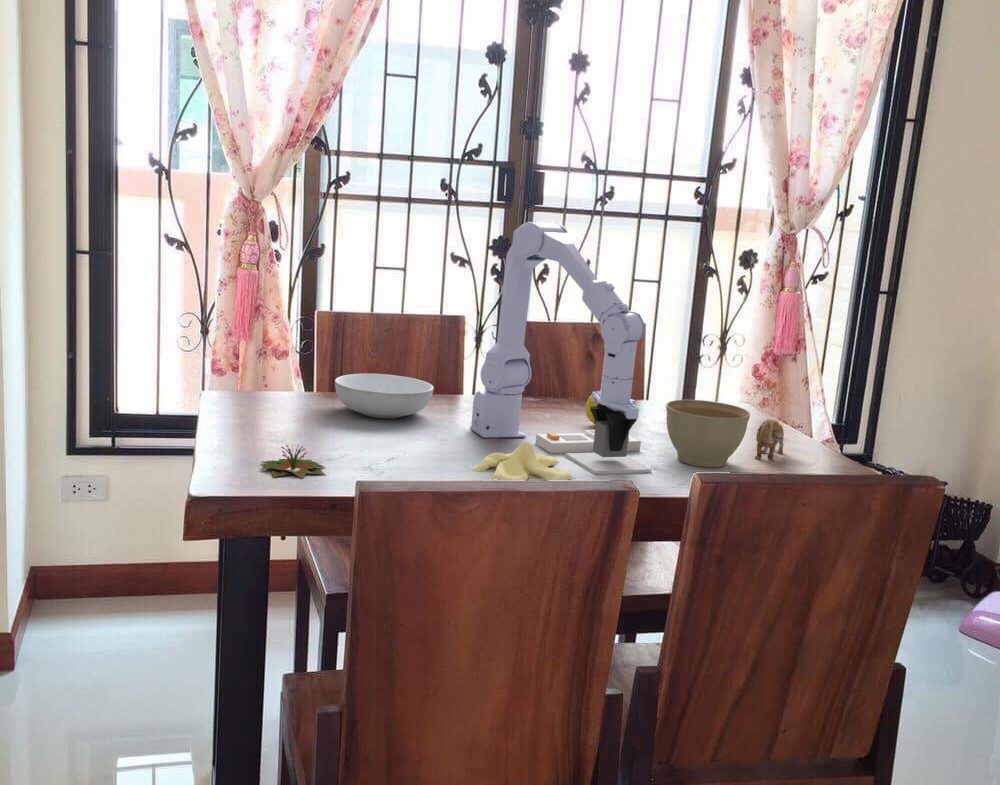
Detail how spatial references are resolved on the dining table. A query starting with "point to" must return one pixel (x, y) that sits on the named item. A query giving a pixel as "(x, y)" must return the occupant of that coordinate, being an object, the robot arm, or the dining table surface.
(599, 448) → the block
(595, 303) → the robot arm
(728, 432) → the planter bowl
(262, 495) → the dining table surface
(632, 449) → the power strip
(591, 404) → the lemon
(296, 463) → the lily flower
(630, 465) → the mat
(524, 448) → the banana peel
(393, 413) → the serving bowl
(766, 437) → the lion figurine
